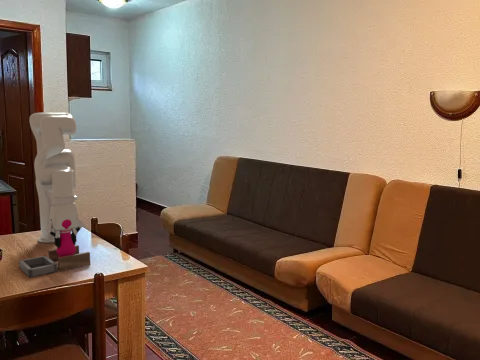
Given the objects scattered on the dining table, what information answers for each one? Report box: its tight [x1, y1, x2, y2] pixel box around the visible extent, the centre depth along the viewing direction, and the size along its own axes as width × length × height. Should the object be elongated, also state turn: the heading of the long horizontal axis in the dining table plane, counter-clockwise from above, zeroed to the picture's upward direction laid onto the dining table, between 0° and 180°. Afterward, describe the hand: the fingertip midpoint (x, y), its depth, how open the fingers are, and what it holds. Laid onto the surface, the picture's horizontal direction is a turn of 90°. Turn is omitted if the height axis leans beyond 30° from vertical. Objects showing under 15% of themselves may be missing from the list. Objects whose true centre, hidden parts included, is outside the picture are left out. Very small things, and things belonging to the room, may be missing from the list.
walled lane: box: [47, 244, 91, 272], centre depth 185 cm, size 13×12×5 cm
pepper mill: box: [56, 219, 76, 258], centre depth 183 cm, size 7×7×20 cm
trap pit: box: [18, 255, 58, 279], centre depth 177 cm, size 14×10×3 cm
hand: (65, 245), depth 184 cm, fingers closed on pepper mill, 5 cm apart
